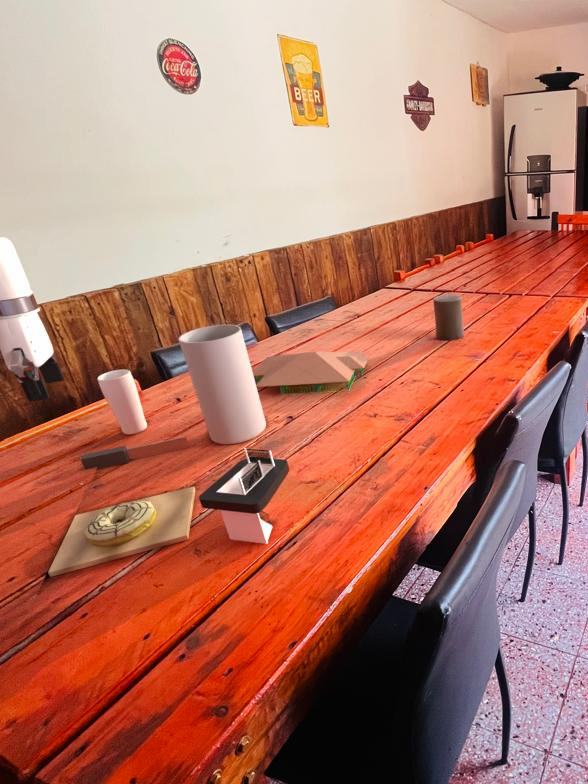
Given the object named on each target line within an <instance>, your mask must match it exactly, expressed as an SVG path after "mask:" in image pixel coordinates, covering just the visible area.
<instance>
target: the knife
mask: <svg viewBox="0 0 588 784" xmlns="http://www.w3.org/2000/svg"><path fill="white" fill-rule="evenodd" d="M188 448H190V444H189V441H188V439H187V436H180V437H176V438H171V439H167V440H161V441H157V442H156V441H155V442H152V443H148V444H143V445H138V446H133V447H129V448H127V446H126V445H122V446H117V447H112V448H107V449H103V450H98V451H93V452H88V453H84V454H82V456H81V458H80V462H81V464H82V466H83V469H84V470H89V469H95V468H96V469H95V470H96V471H97V470H101V469H106V468H111V467H115V466H119V465H124V464H129V463H130V461H134V460H138V459H142V458H148V457H152V456H156V454H157V455H160V454H166V453H169V452H170V451H171V452H174V451H179V450H184V449H188ZM165 452H166V453H165Z"/></svg>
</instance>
